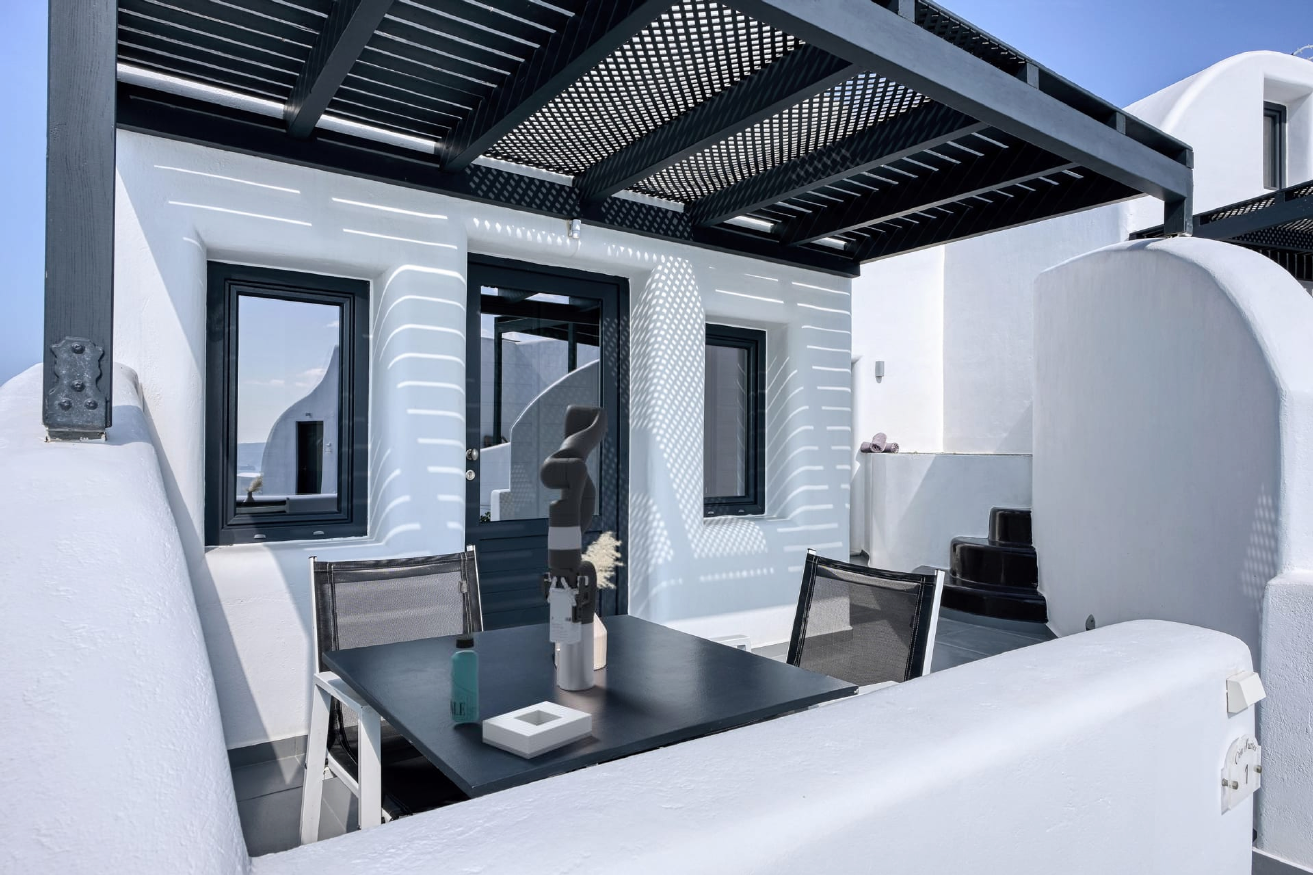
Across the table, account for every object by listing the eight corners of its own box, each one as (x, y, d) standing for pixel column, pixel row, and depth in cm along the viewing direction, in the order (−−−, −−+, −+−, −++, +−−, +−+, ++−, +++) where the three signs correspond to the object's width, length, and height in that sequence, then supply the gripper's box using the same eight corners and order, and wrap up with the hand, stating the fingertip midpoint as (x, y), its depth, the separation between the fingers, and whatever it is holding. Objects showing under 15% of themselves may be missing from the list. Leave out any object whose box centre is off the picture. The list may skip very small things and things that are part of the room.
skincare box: (548, 642, 177) (548, 588, 177) (560, 638, 181) (559, 585, 181) (571, 645, 174) (571, 589, 174) (582, 641, 178) (582, 586, 178)
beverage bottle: (481, 720, 184) (482, 633, 184) (476, 729, 177) (476, 640, 177) (453, 720, 183) (454, 634, 184) (447, 730, 177) (447, 640, 177)
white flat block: (482, 741, 169) (482, 720, 169) (546, 720, 183) (546, 701, 183) (528, 759, 159) (528, 736, 160) (591, 735, 173) (591, 714, 173)
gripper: (599, 546, 177) (600, 621, 176) (554, 543, 186) (555, 615, 185) (575, 549, 171) (576, 627, 170) (530, 546, 180) (531, 620, 179)
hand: (565, 620), depth 177 cm, fingers closed on skincare box, 6 cm apart
